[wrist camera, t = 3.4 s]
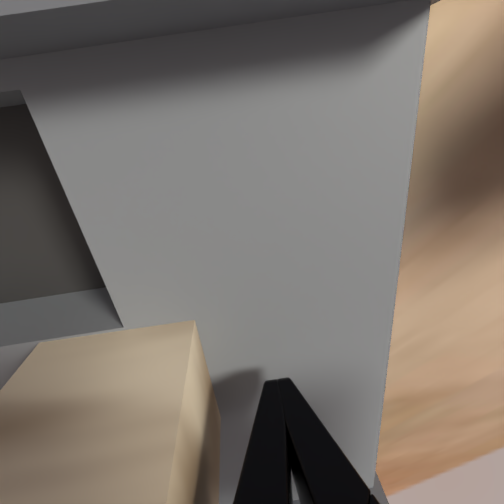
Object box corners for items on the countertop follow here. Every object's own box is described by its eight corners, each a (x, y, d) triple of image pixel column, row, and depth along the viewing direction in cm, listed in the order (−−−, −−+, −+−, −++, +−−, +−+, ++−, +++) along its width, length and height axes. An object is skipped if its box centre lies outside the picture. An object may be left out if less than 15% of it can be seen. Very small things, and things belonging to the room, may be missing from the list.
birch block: (220, 417, 10) (216, 613, 6) (96, 436, 10) (10, 647, 6) (194, 319, 8) (163, 518, 4) (39, 342, 8) (-144, 567, 4)
